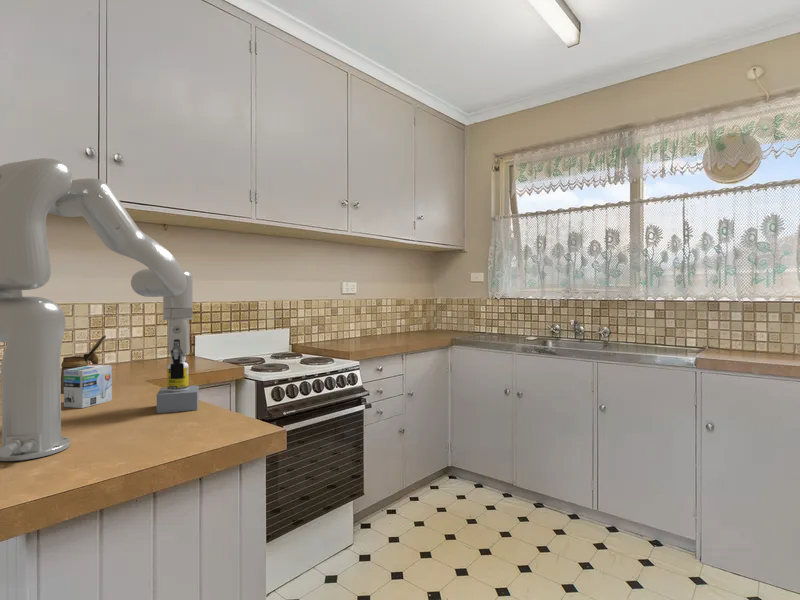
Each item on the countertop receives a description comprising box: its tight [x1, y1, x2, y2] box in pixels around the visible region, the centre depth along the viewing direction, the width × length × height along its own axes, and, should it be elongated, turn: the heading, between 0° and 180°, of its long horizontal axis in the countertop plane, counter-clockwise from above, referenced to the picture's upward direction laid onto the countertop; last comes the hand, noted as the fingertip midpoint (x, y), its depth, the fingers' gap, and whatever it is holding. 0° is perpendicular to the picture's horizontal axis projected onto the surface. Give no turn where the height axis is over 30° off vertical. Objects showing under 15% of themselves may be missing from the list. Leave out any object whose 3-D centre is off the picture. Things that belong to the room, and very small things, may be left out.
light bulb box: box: [63, 364, 113, 409], centre depth 135 cm, size 11×7×11 cm, turn 168°
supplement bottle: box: [166, 354, 190, 392], centre depth 130 cm, size 5×5×10 cm
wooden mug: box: [60, 335, 107, 394], centre depth 155 cm, size 9×14×18 cm, turn 127°
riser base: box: [156, 385, 200, 414], centre depth 131 cm, size 10×10×5 cm
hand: (178, 375), depth 130 cm, fingers open, 8 cm apart
